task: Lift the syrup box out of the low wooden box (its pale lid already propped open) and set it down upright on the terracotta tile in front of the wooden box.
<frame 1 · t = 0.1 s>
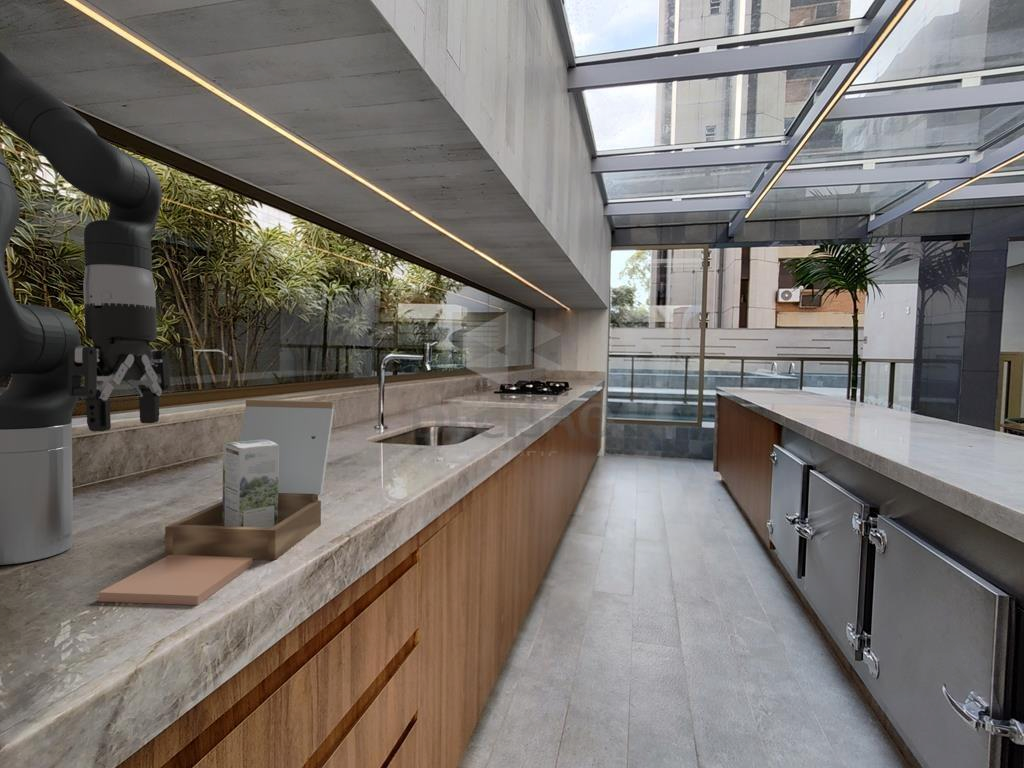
hand: (126, 426, 68), 17 cm above the worktop, tool pointing down, fingers open, 8 cm apart
syrup box: (250, 540, 76), resting in wooden box
tile: (182, 581, 61), on the worktop
lid: (275, 493, 83), resting on wooden box
wooden box: (250, 539, 76), on the worktop
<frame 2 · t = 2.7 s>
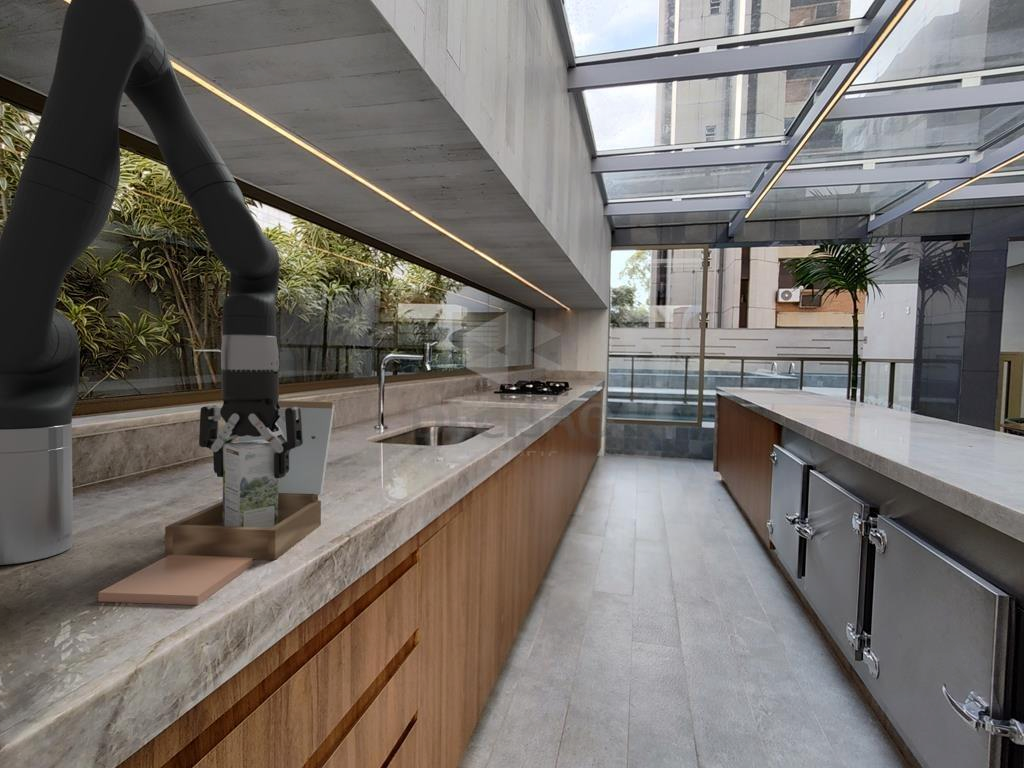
hand: (251, 476, 76), 9 cm above the worktop, tool pointing down, fingers open, 8 cm apart
syrup box: (250, 540, 76), resting in wooden box, touching gripper
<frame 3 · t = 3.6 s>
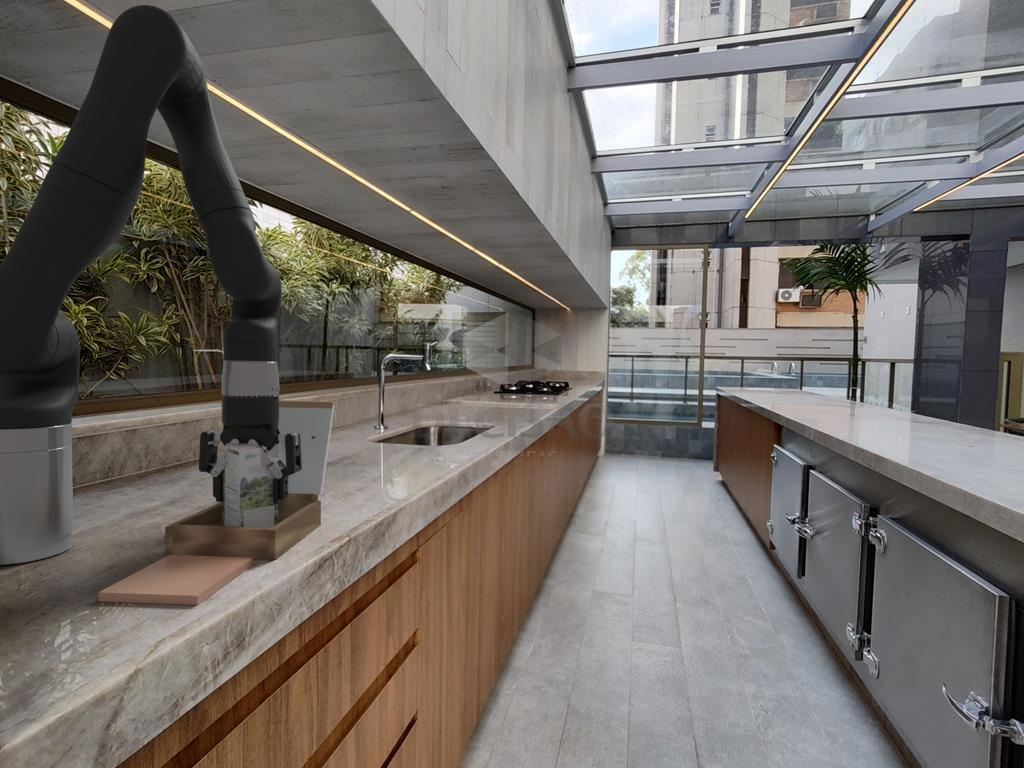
hand: (250, 501, 76), 6 cm above the worktop, tool pointing down, fingers closed on syrup box, 8 cm apart
syrup box: (250, 540, 76), resting in wooden box, touching gripper
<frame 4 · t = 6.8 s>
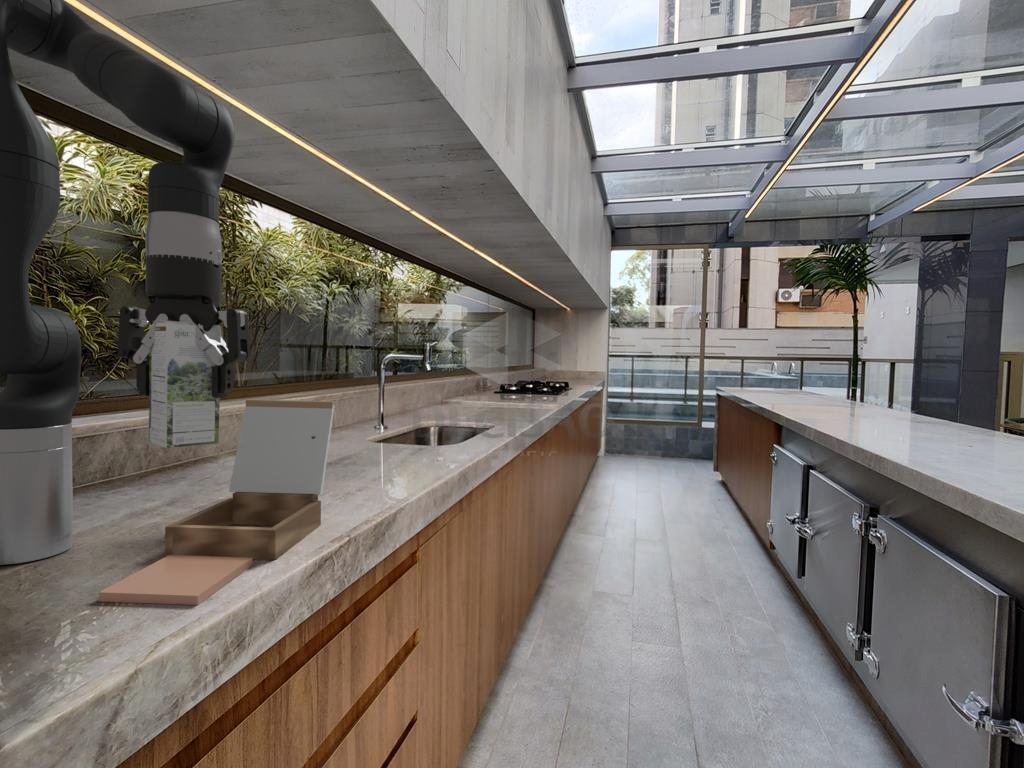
hand: (185, 396, 61), 22 cm above the worktop, tool pointing down, fingers closed on syrup box, 8 cm apart
syrup box: (184, 445, 61), point 16 cm above the worktop, touching gripper
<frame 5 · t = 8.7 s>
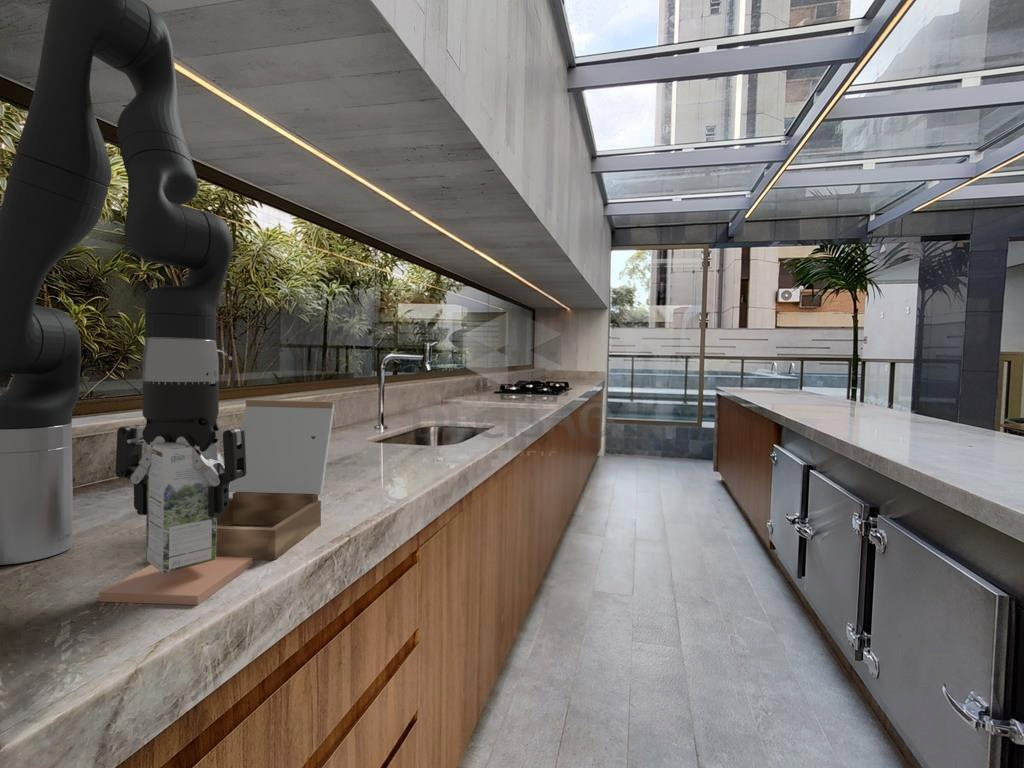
hand: (182, 514, 61), 8 cm above the worktop, tool pointing down, fingers closed on syrup box, 8 cm apart
syrup box: (182, 563, 61), point 2 cm above the worktop, touching gripper
when the fingers open (8 cm above the worktop, at t = 9.6 s): syrup box drops 1 cm, resting on tile.
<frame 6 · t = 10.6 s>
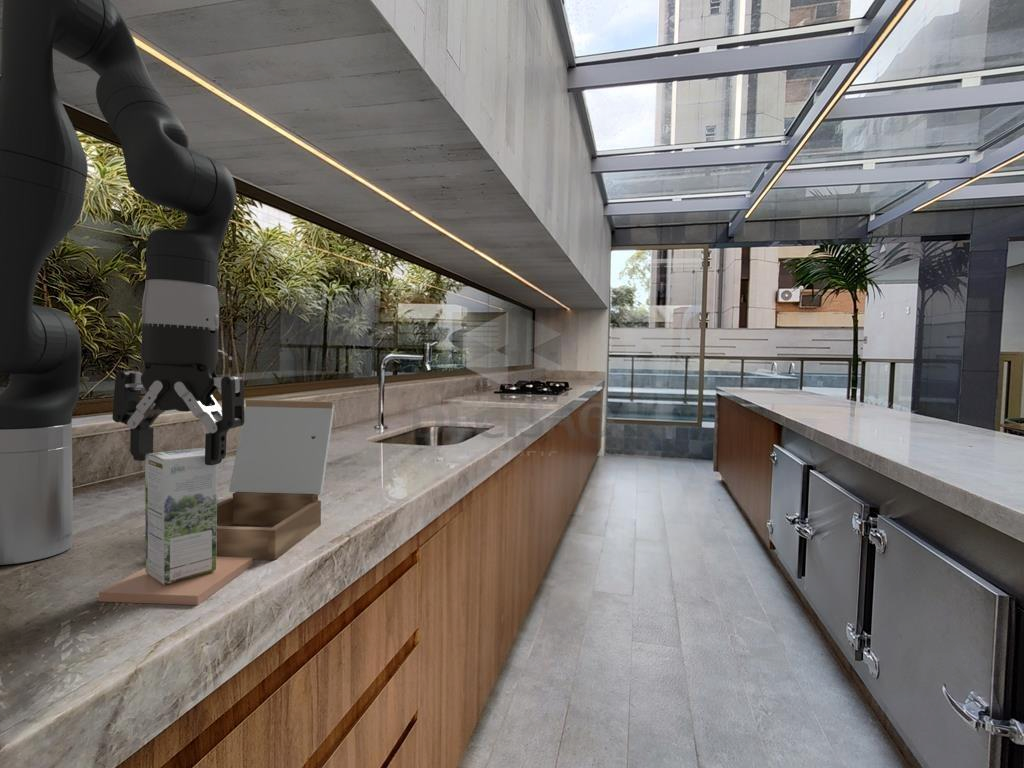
hand: (178, 461, 60), 14 cm above the worktop, tool pointing down, fingers open, 8 cm apart
syrup box: (182, 574, 61), point 1 cm above the worktop, touching gripper, tile
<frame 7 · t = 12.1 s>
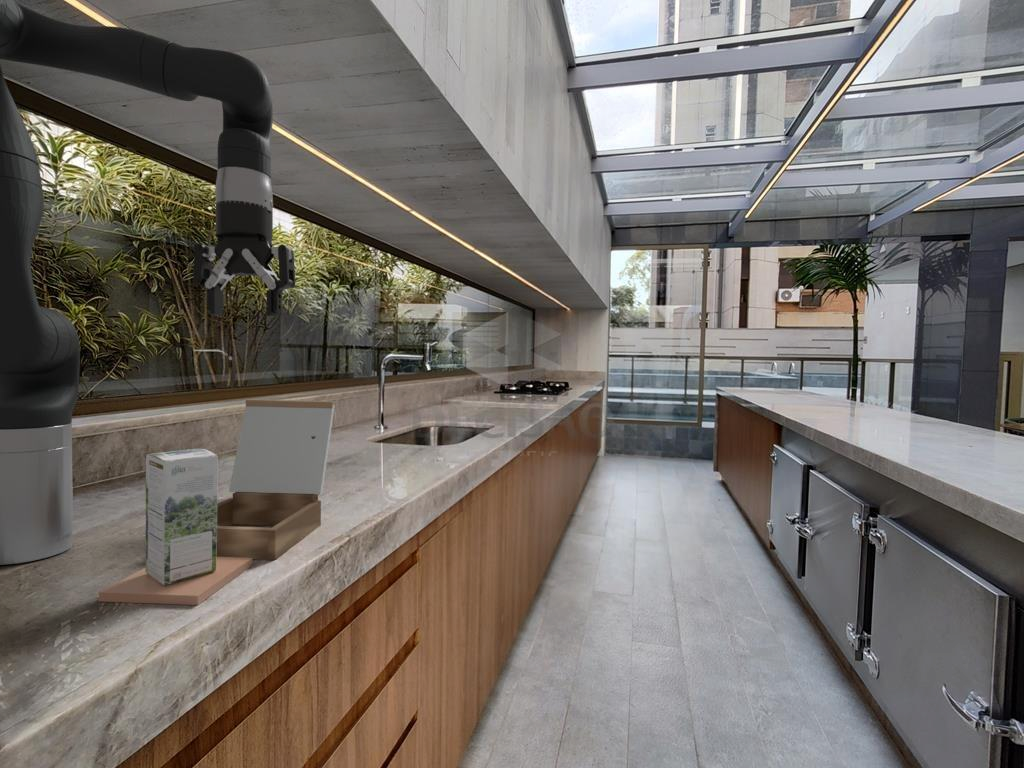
hand: (244, 316, 77), 33 cm above the worktop, tool pointing down, fingers open, 8 cm apart
syrup box: (181, 574, 61), point 1 cm above the worktop, touching tile
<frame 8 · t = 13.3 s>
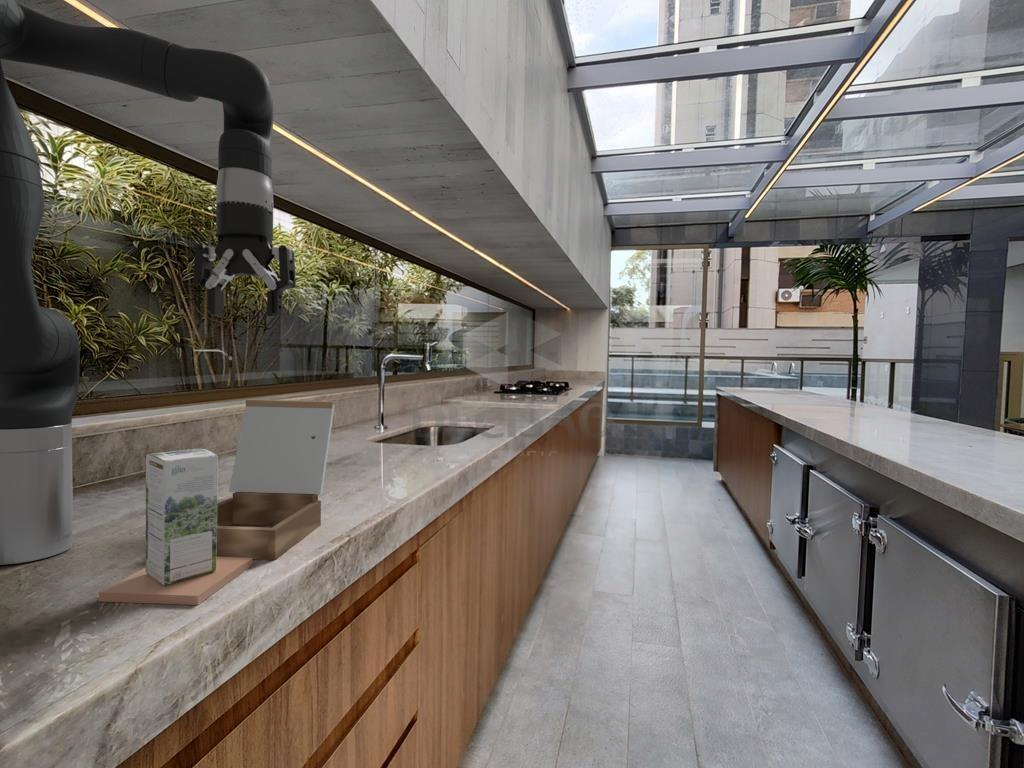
hand: (245, 316, 77), 33 cm above the worktop, tool pointing down, fingers open, 8 cm apart
nothing on the worktop moved.
at the end: syrup box inside the target area on the tile (0.1 cm from its centre), point 0.8 cm above the tile's base; syrup box tilted 0°; the gripper is holding nothing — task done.
